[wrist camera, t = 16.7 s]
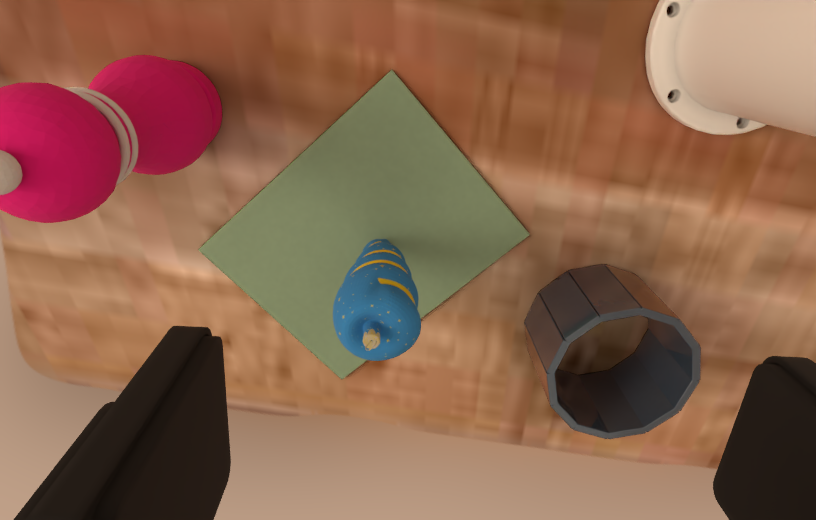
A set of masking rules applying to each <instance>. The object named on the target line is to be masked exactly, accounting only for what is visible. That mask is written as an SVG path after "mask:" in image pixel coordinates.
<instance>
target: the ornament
mask: <svg viewBox="0 0 816 520" xmlns="http://www.w3.org/2000/svg"><path fill="white" fill-rule="evenodd" d="M417 308H418V291H417V288H416V285H415V283H414V281H413V280H412V276H411V271H410V269H409V267H408V265H407V264H406V262H405V258H404V255H403V254H402V252H401V251H400V250H399V249H398V248H397V247H396V246H394V245H392V244H391V243H390V242H389V241H388V240H387V239H375V240H372V241H370V242H369V243H368V244H367V245H366V246H365V247H364V249H363V251H362V253H361V254H360V256H359V257H358V258H357V260H356V262H355V264H354V265H353V266H352V267H351V268H350V269H349V271H348V273H347V274H346V277H345V280H344V282H343V284H342V285H341V287H340V288H339V290H338V292H337V295H336V298H335V301H334V305H333V323H334V328H335V331H336V334H337V336H338V338H339V340H340V341H341V343H342V344H343V346H344V347H345V348H346V349H347V350H348V351H349V352H351V353H352V354H354V355H355V356H357V357H360V358H362V359H366V360H371V361H380V360H387V359H391V358H394V357H396V356H399V355H401V354H402V353H404V352H405V351H407V350H408V349H409V348H411V347H412V346H413V344H414V343H415V342H416V340H417V338H418V337H419V334H420V331H421V319H420V314H419V312H418V310H417Z"/></svg>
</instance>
